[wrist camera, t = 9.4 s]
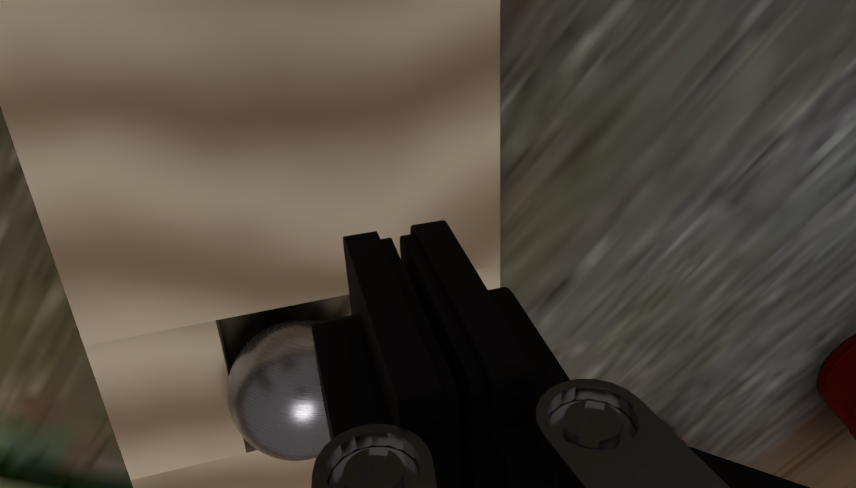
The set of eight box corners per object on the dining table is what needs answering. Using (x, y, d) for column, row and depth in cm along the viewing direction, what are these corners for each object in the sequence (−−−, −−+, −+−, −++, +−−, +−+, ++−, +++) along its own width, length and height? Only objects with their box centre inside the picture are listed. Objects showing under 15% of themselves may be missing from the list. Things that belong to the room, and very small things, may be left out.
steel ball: (328, 416, 36) (352, 303, 34) (371, 485, 31) (402, 356, 29) (205, 417, 33) (227, 295, 32) (231, 494, 28) (258, 352, 27)
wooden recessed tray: (-80, -172, 21) (-97, -174, 20) (484, -196, 25) (500, -199, 24) (153, 518, 36) (152, 542, 35) (490, 433, 40) (500, 452, 39)
